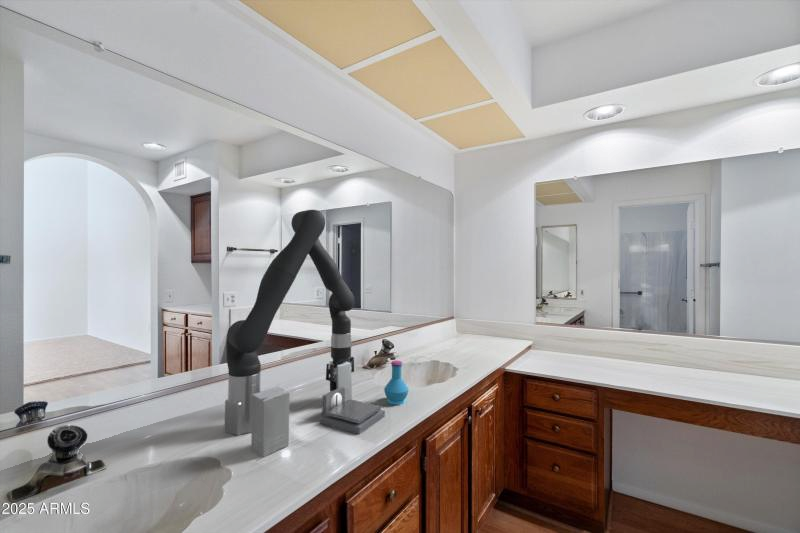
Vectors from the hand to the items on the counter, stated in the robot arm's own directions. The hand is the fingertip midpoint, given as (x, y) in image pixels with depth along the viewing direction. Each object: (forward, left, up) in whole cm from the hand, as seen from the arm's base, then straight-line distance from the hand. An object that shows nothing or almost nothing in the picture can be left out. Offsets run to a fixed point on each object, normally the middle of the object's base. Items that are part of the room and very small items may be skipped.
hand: (340, 387), depth 136 cm
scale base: (-11, -14, -5) cm, 19 cm away
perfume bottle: (+11, -18, -5) cm, 22 cm away
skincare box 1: (-38, -5, -5) cm, 39 cm away
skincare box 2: (0, 0, -5) cm, 5 cm away
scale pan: (-11, -14, -3) cm, 18 cm away
